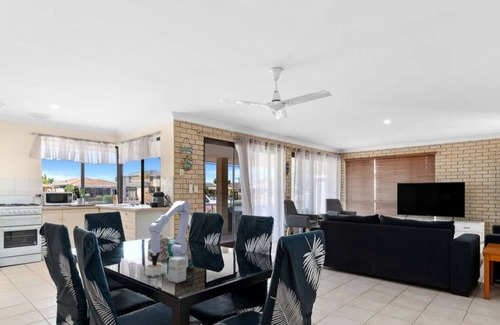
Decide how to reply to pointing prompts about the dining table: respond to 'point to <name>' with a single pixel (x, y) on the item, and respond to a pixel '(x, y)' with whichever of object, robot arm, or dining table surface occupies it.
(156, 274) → the octagonal hollow frame
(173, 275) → the supplement box
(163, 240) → the decorative jar
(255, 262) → the dining table surface
